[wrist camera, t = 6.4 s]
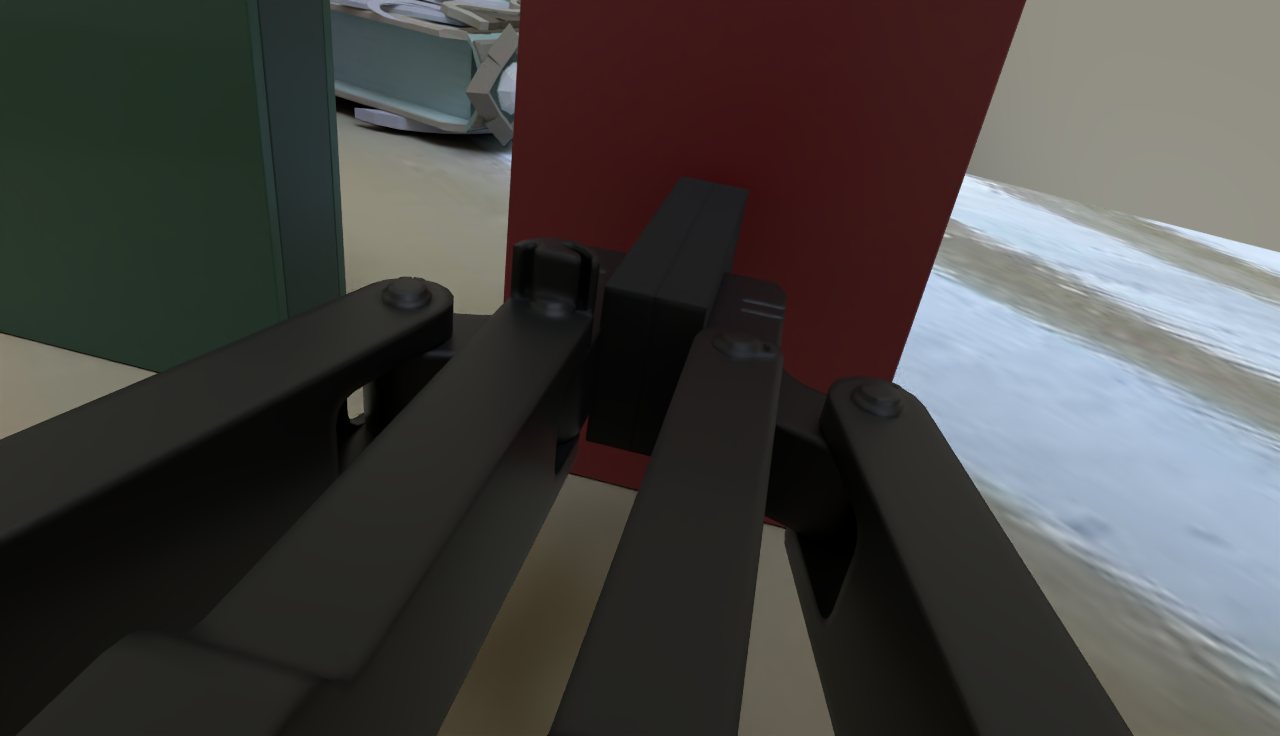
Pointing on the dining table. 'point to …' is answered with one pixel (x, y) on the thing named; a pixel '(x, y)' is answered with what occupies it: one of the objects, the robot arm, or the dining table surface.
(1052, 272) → the dining table surface
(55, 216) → the green book
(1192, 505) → the dining table surface
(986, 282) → the dining table surface
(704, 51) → the burgundy book
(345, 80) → the ornate book
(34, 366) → the dining table surface
